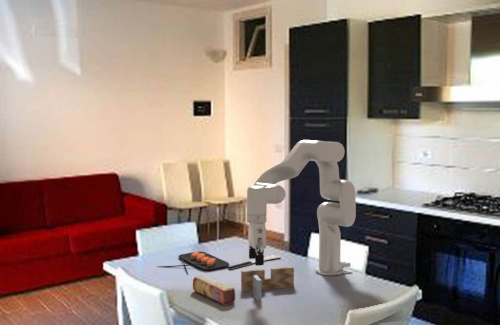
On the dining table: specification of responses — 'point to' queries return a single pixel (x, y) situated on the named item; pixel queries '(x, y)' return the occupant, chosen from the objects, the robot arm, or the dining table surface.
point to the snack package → (214, 289)
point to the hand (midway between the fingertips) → (256, 261)
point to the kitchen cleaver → (251, 262)
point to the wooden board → (277, 280)
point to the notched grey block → (257, 287)
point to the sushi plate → (201, 261)
